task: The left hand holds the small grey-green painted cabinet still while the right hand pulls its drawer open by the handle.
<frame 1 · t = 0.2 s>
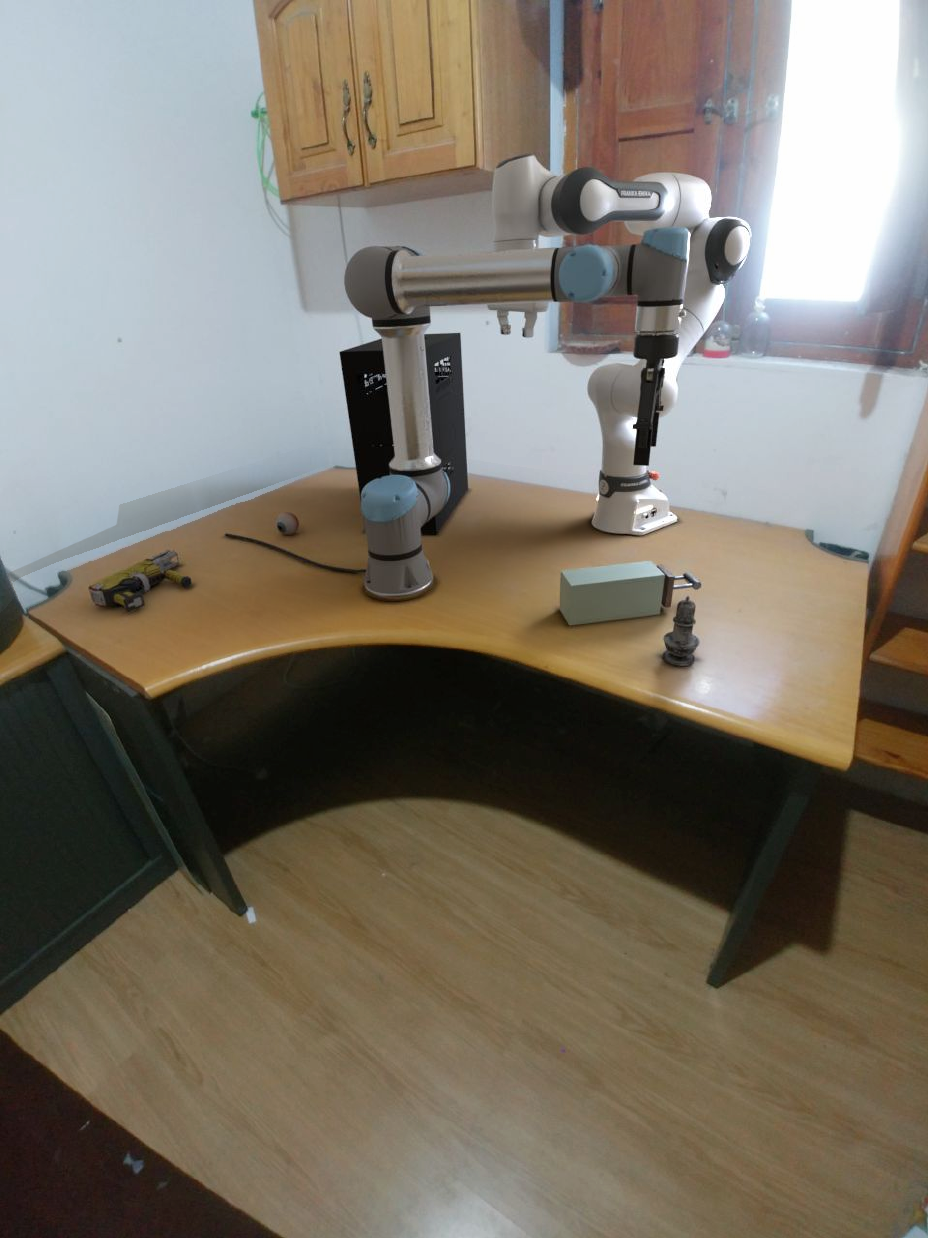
left hand: (645, 455, 115), 28 cm above the table, tool pointing down, fingers open, 13 cm apart
right hand: (516, 335, 125), 48 cm above the table, tool pointing down, fingers open, 8 cm apart
toy gun: (157, 589, 139), on the table
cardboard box: (420, 509, 177), on the table
drawer: (639, 589, 118), point 4 cm above the table, slide at 1.2 cm
eyeball: (289, 534, 165), on the table
cabinet: (608, 611, 120), on the table
salt shaker: (678, 658, 105), on the table
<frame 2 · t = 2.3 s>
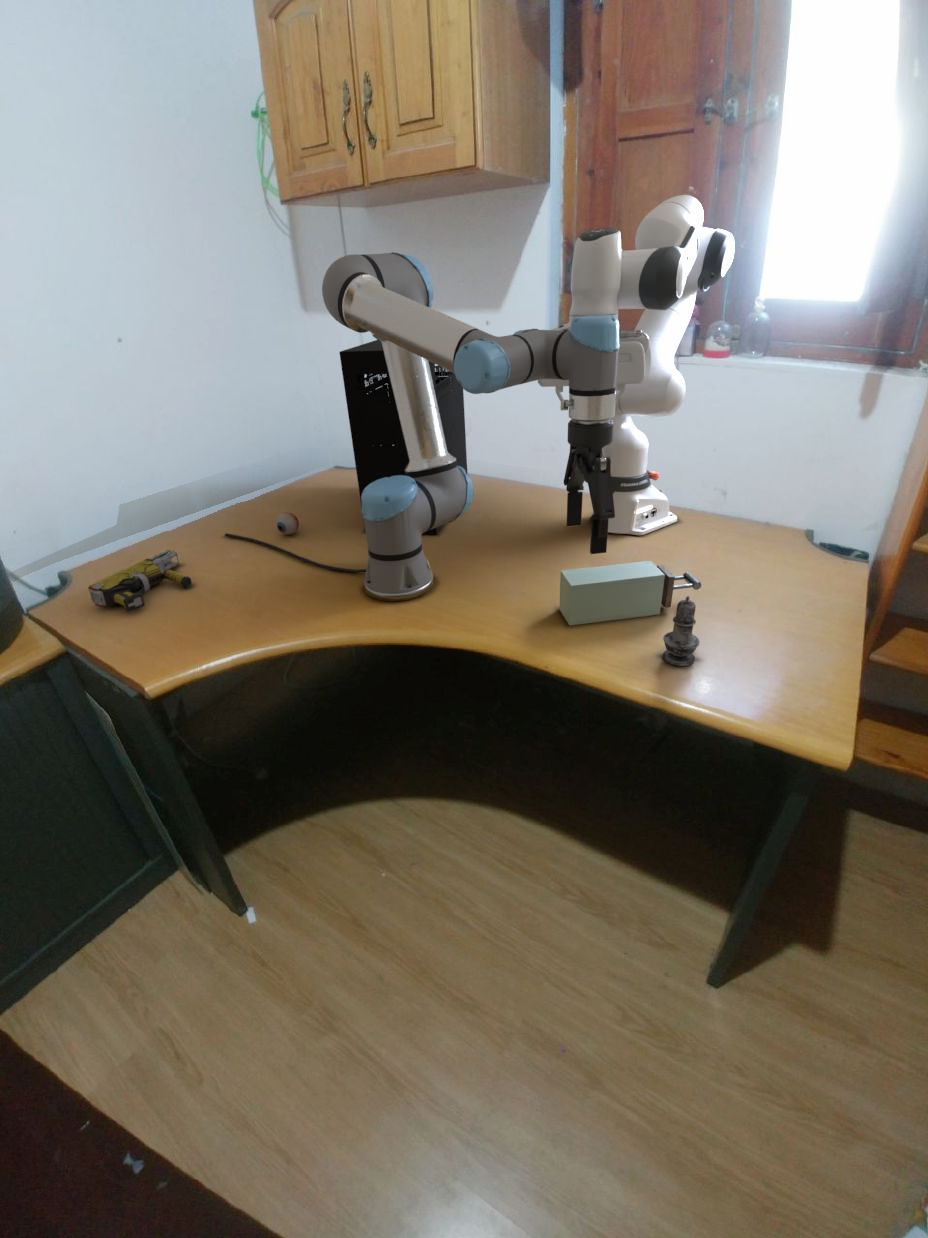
left hand: (585, 538, 111), 16 cm above the table, tool pointing down, fingers open, 13 cm apart
right hand: (588, 409, 119), 35 cm above the table, tool pointing down, fingers open, 8 cm apart
nothing on the table moved.
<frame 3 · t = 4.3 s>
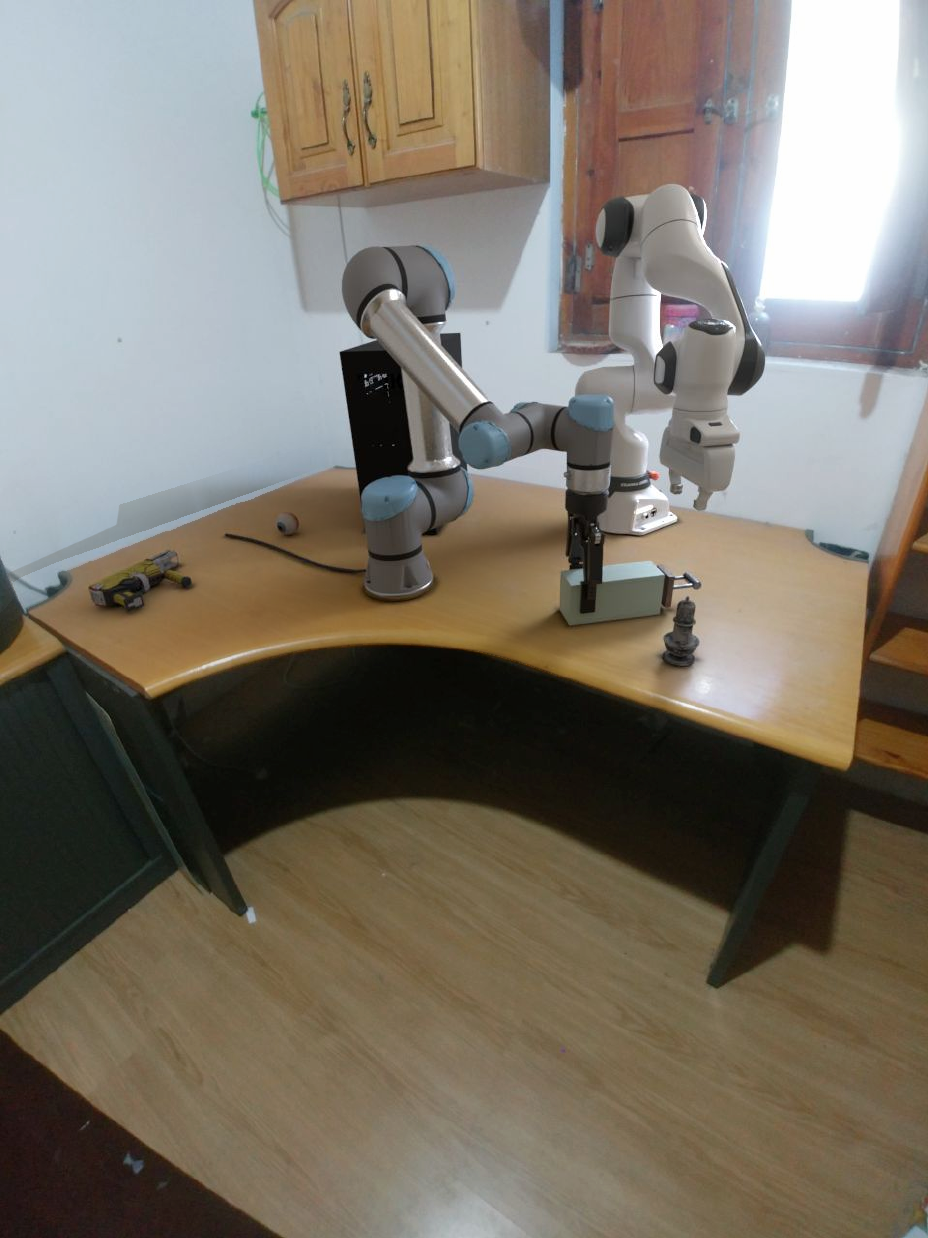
left hand: (581, 602, 118), 3 cm above the table, tool pointing down, fingers closed on cabinet, 7 cm apart
right hand: (687, 501, 111), 21 cm above the table, tool pointing down, fingers open, 8 cm apart
cabinet: (608, 611, 120), on the table, touching left hand
everything else where it was.
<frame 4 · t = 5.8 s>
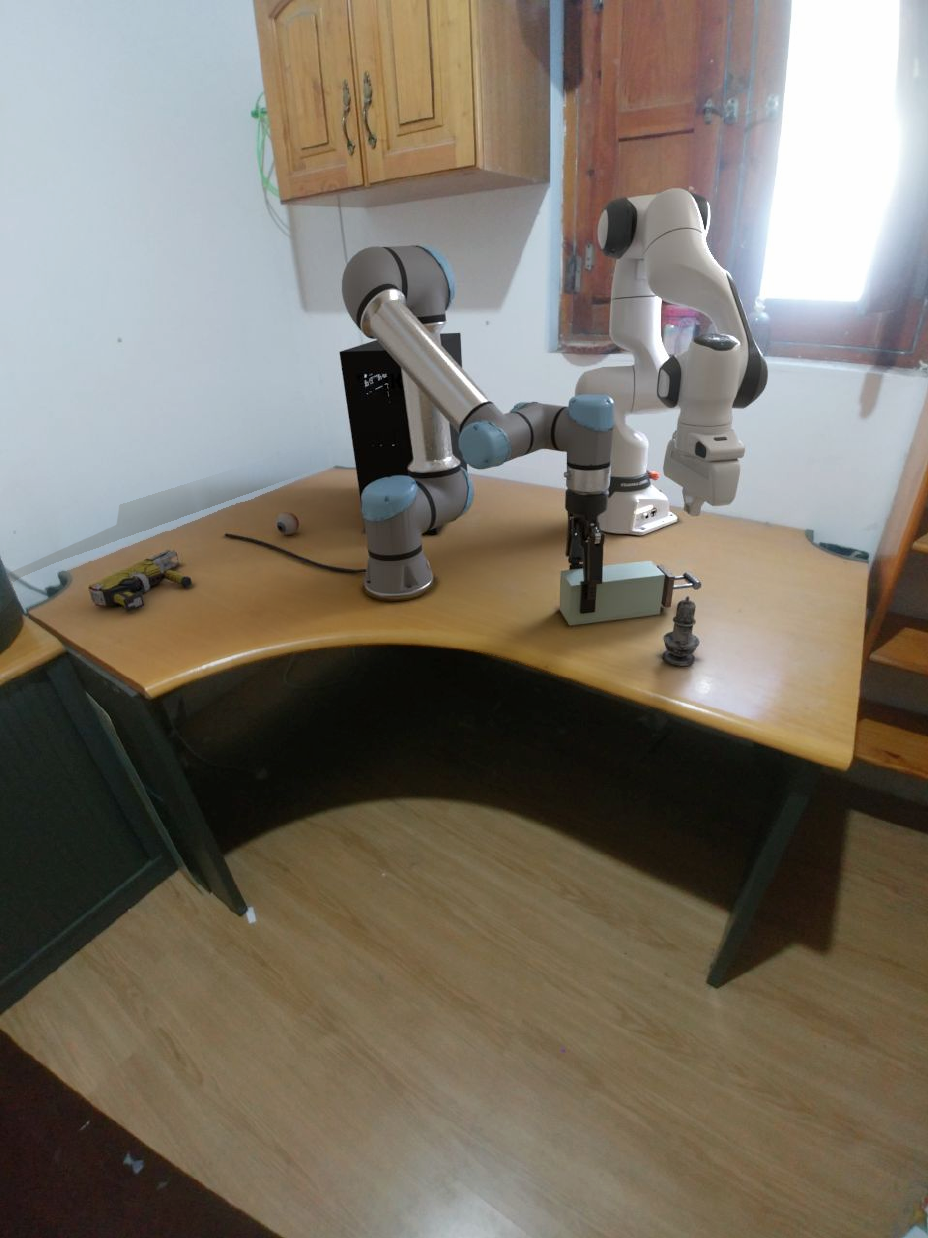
left hand: (581, 602, 118), 3 cm above the table, tool pointing down, fingers closed on cabinet, 7 cm apart
right hand: (691, 513, 112), 19 cm above the table, tool pointing down, fingers closed
cabinet: (608, 611, 120), on the table, touching left hand
everything else where it was.
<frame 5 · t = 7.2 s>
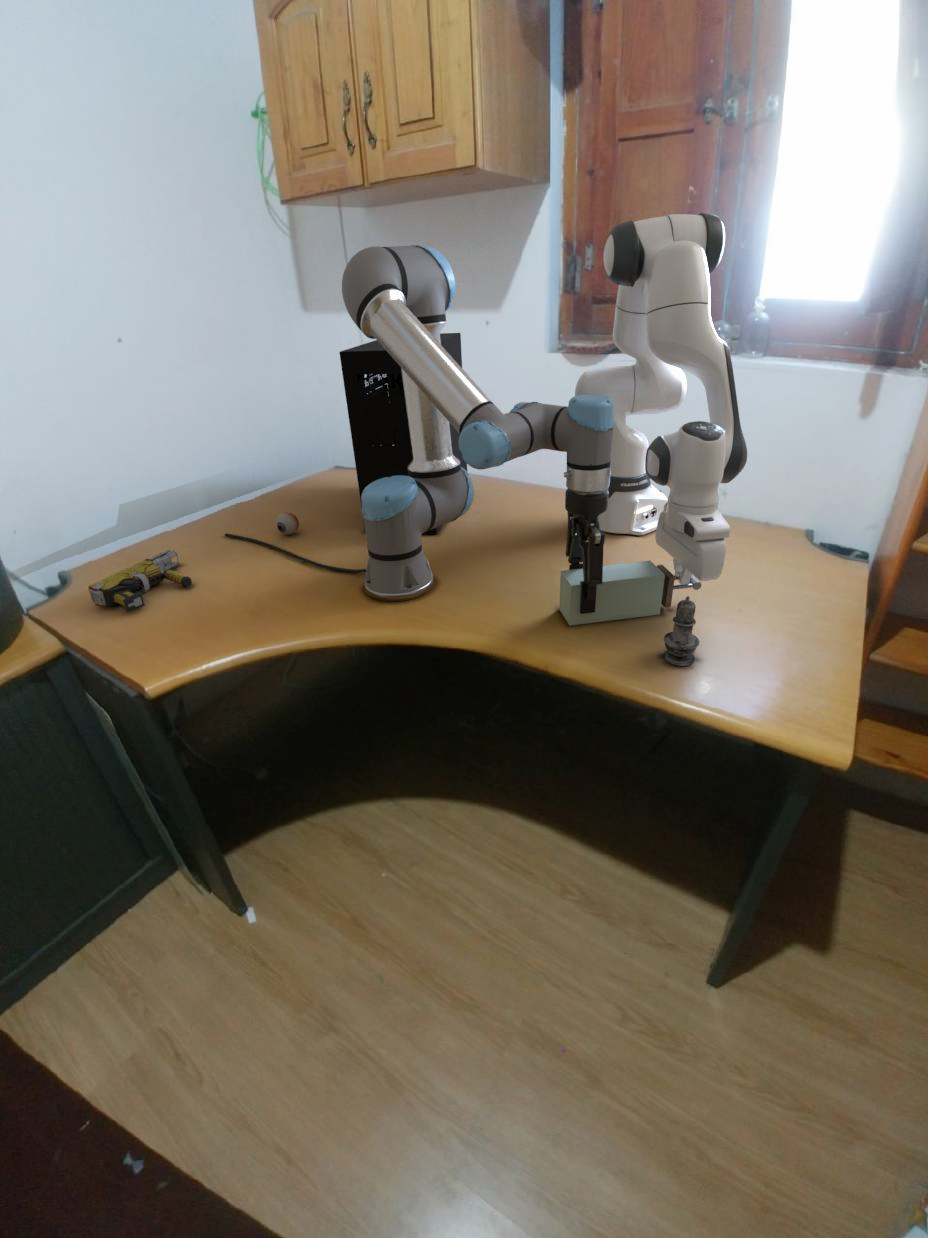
left hand: (581, 602, 118), 3 cm above the table, tool pointing down, fingers closed on cabinet, 7 cm apart
right hand: (681, 581, 119), 5 cm above the table, tool pointing down, fingers closed, pressing on drawer
drawer: (639, 589, 118), point 4 cm above the table, slide at 1.2 cm, touching right hand
cabinet: (608, 611, 120), on the table, touching left hand
everything else where it was.
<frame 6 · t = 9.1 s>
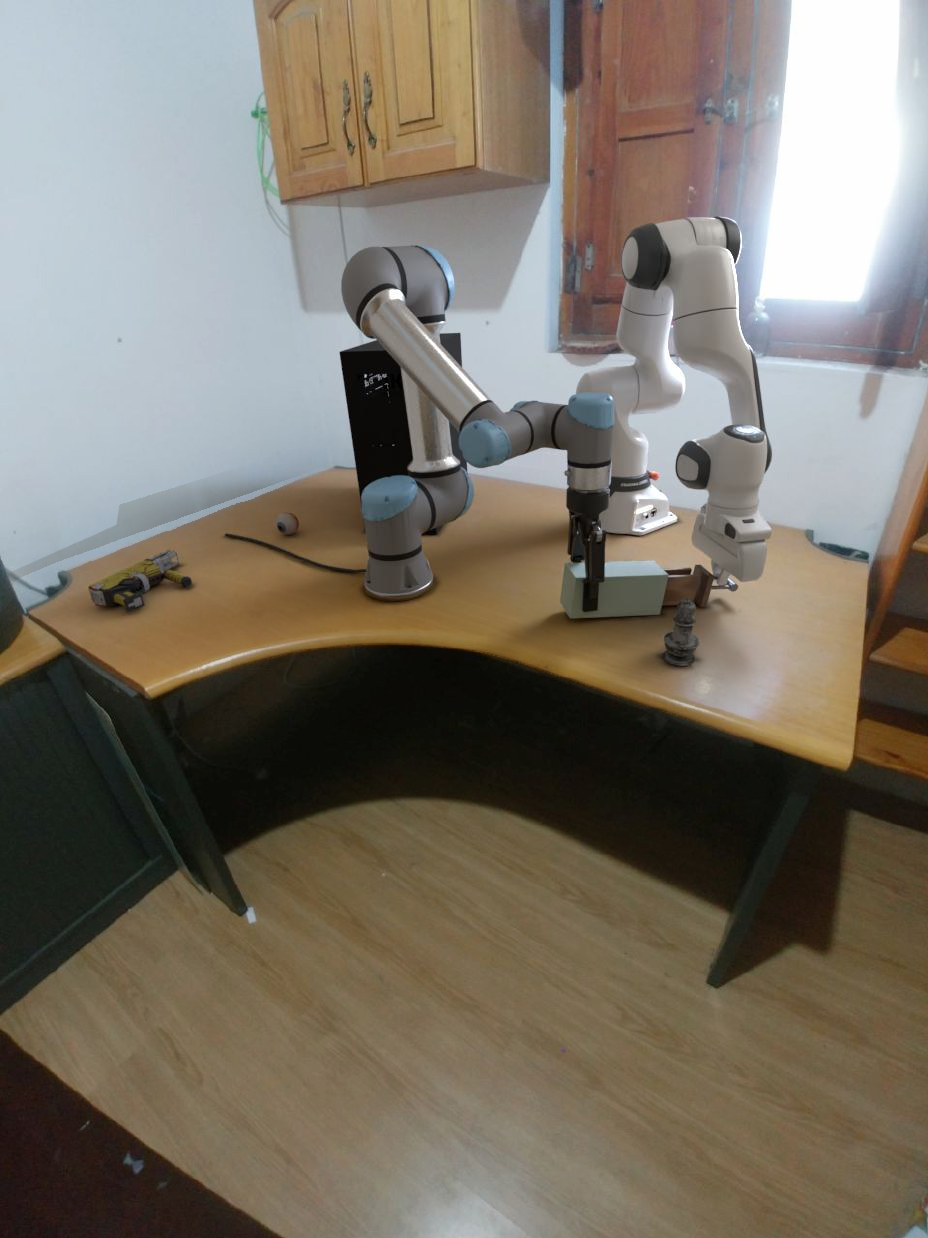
left hand: (583, 601, 118), 3 cm above the table, tool pointing down, fingers closed on cabinet, 7 cm apart
right hand: (719, 583, 120), 4 cm above the table, tool pointing down, fingers closed
drawer: (677, 586, 119), point 4 cm above the table, slide at 8.7 cm, touching right hand
cabinet: (609, 608, 119), point 1 cm above the table, tilted 5°, touching left hand
everything else where it was.
when the left hand's fingers open (3 cm above the table, at t = 10.7 s): cabinet stays where it is, on the table.
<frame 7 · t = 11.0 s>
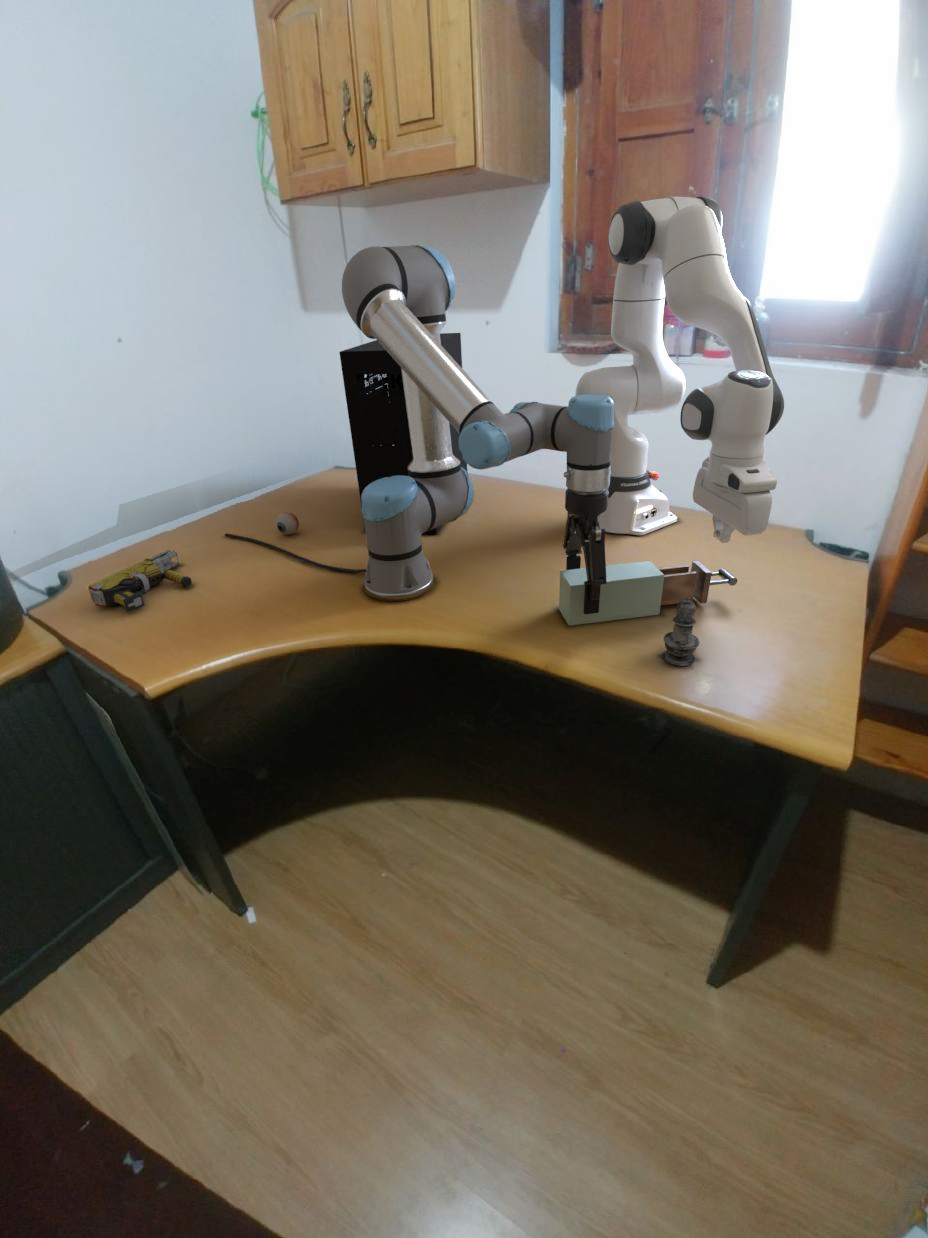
left hand: (581, 598, 117), 4 cm above the table, tool pointing down, fingers open, 10 cm apart
right hand: (721, 539, 116), 13 cm above the table, tool pointing down, fingers closed
drawer: (675, 584, 119), point 4 cm above the table, slide at 8.8 cm
cabinet: (608, 611, 120), on the table
everything else where it was.
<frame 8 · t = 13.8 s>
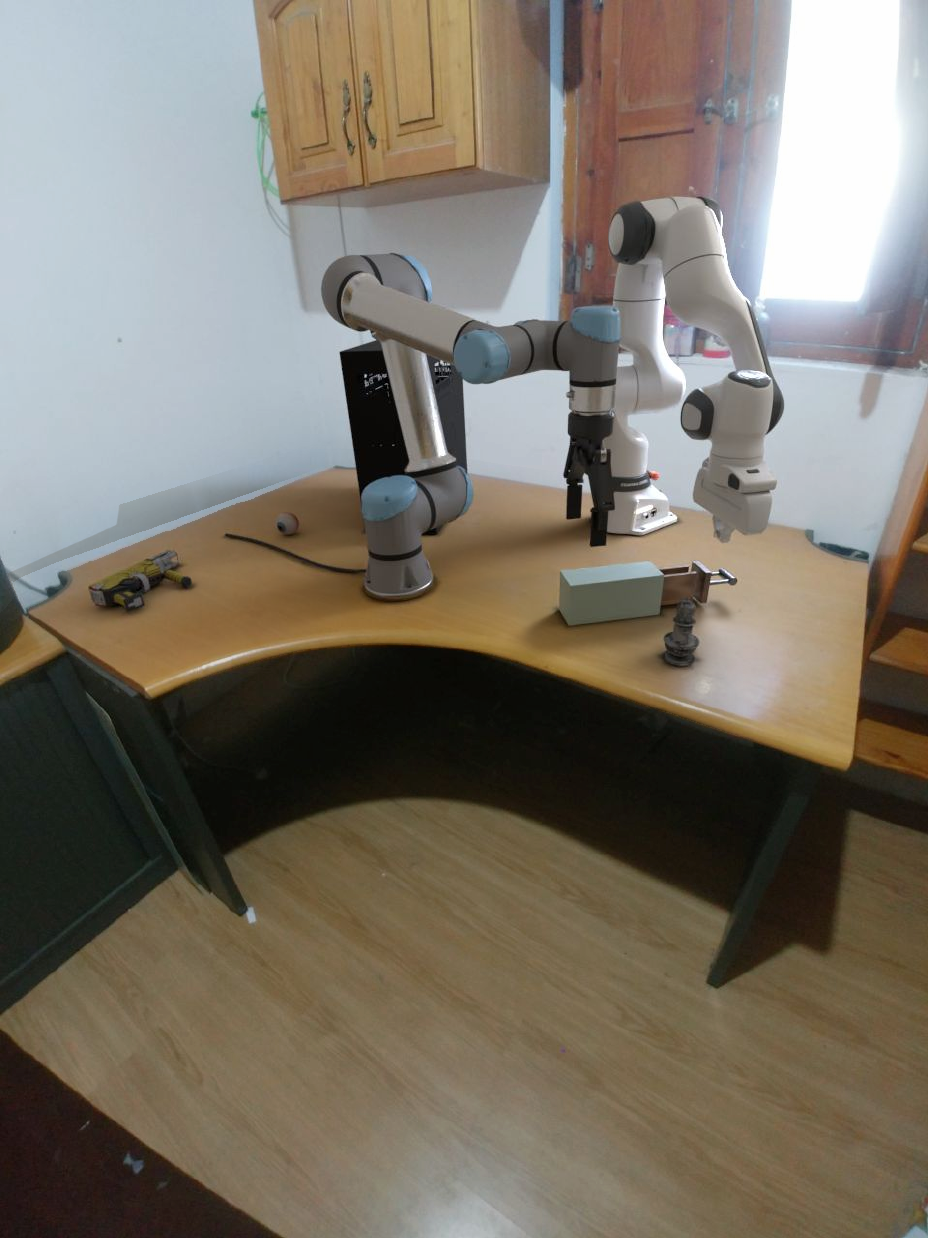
left hand: (584, 531, 110), 18 cm above the table, tool pointing down, fingers open, 13 cm apart
right hand: (721, 539, 116), 13 cm above the table, tool pointing down, fingers closed
nothing on the table moved.
at the end: drawer slide at 8.8 cm; cabinet tilted 0°; cabinet never tilted more than 6° during the clip; cabinet moved 0.1 cm from its start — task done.
